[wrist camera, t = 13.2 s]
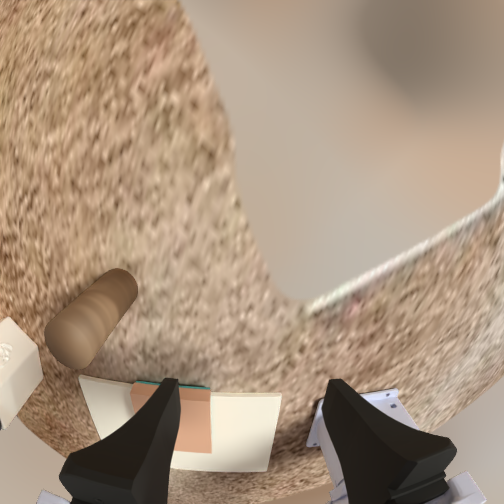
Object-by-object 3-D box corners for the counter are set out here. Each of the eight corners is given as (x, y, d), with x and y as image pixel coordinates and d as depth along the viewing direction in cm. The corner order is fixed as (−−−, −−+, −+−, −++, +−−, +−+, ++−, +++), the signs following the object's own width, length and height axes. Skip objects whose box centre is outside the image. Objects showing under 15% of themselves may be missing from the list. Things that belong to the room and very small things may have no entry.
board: (280, 392, 25) (281, 396, 24) (266, 467, 28) (266, 471, 28) (80, 374, 23) (78, 377, 23) (110, 453, 27) (109, 456, 26)
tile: (210, 401, 22) (211, 453, 23) (210, 386, 23) (212, 439, 25) (129, 393, 21) (144, 446, 23) (135, 379, 23) (147, 433, 25)
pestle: (136, 269, 21) (85, 323, 12) (139, 307, 22) (97, 374, 13) (100, 267, 21) (38, 315, 12) (104, 304, 22) (52, 363, 13)
